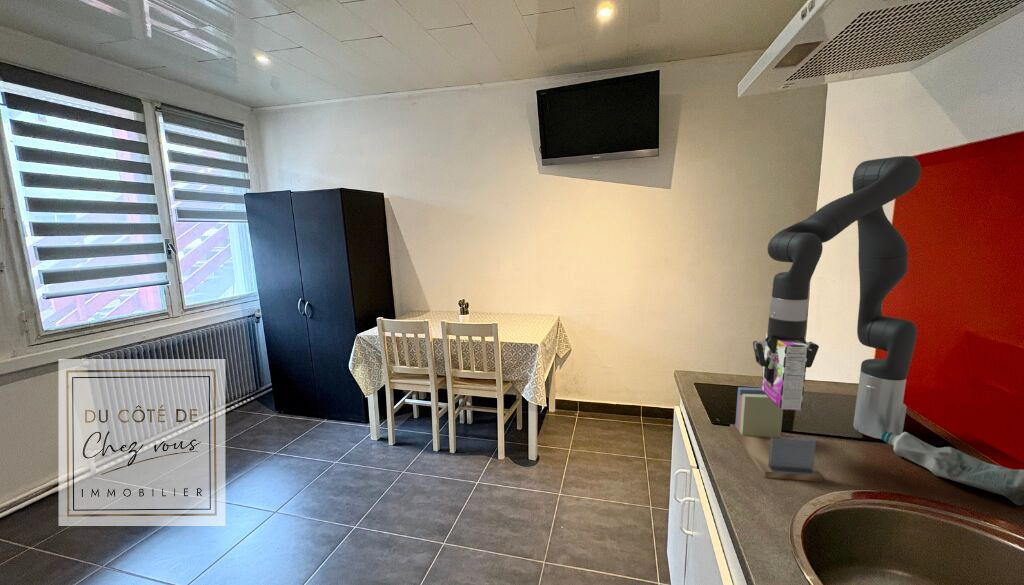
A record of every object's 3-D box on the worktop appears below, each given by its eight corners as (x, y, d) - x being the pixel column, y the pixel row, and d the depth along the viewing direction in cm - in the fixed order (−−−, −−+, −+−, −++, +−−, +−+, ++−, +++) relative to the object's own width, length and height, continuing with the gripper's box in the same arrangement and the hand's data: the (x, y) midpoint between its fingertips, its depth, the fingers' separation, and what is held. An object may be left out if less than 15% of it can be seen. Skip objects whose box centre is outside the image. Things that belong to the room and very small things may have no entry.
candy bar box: (759, 390, 103) (764, 331, 100) (780, 391, 102) (786, 331, 99) (779, 410, 92) (785, 344, 89) (802, 411, 91) (810, 345, 88)
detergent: (1047, 498, 82) (895, 438, 105) (1054, 469, 81) (898, 415, 103) (1021, 523, 77) (868, 455, 100) (1028, 493, 76) (871, 430, 98)
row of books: (773, 428, 110) (776, 388, 108) (782, 437, 105) (786, 396, 103) (735, 426, 112) (738, 387, 110) (742, 435, 107) (745, 394, 105)
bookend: (809, 469, 92) (813, 438, 90) (815, 475, 90) (818, 443, 88) (768, 466, 93) (770, 436, 92) (772, 472, 91) (775, 441, 90)
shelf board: (774, 431, 111) (775, 426, 111) (821, 481, 90) (822, 475, 89) (729, 428, 113) (730, 424, 113) (765, 477, 92) (765, 471, 92)
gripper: (811, 312, 95) (805, 377, 98) (748, 312, 98) (743, 375, 101) (831, 320, 88) (823, 389, 91) (762, 319, 91) (756, 387, 94)
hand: (781, 381), depth 96 cm, fingers closed on candy bar box, 5 cm apart
